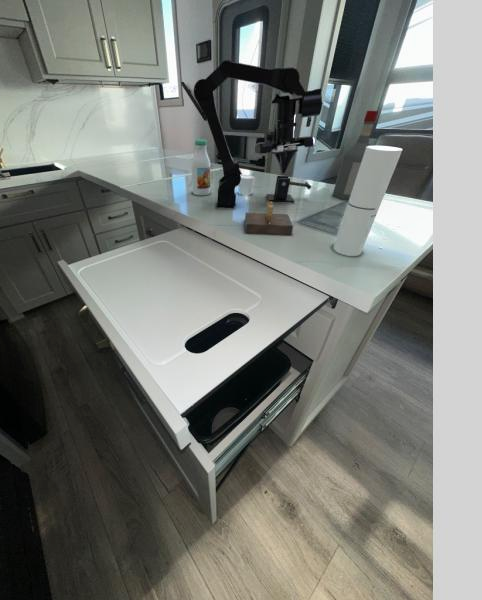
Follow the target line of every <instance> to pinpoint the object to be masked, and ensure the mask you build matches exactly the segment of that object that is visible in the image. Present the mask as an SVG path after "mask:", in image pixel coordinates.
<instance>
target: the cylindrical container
mask: <svg viewBox="0 0 482 600" xmlns="http://www.w3.org/2000/svg"><path fill="white" fill-rule="evenodd" d="M402 152H403V148H401V147H396V146H390V145H370V146H367V147H366V150H365V153H364V156H363V159H362V162H361V165H360V168H359V171H358V174H357V177H356V180H355V183H354V186H353V189H352V192H351V195H350V199H349V201H348V202H347V205H346V208H345V211H344V214H343V217H342V219H341V223H340V227H339V229H338V233H337V235H336V238H335V242H334V245H333V251H335V252H336V253H337V254H340V255H343V256H347V257H356V256H360V255H361V254H362V251H363V249H364V247H365V244H366V242H367V239H368V236H369V234H370V231H371V230H372V226H373V224H374V222H375V219H376V217H377V215H378V211H379V209H380V207H381V205H382V203H383V200H384V198H385V194H386V192H387V189H388V187H389V184H390V182H391V179H392V177H393V175H394V172H395V170H396V168H397V165H398V162H399V160H400V158H401V154H402Z"/></svg>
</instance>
